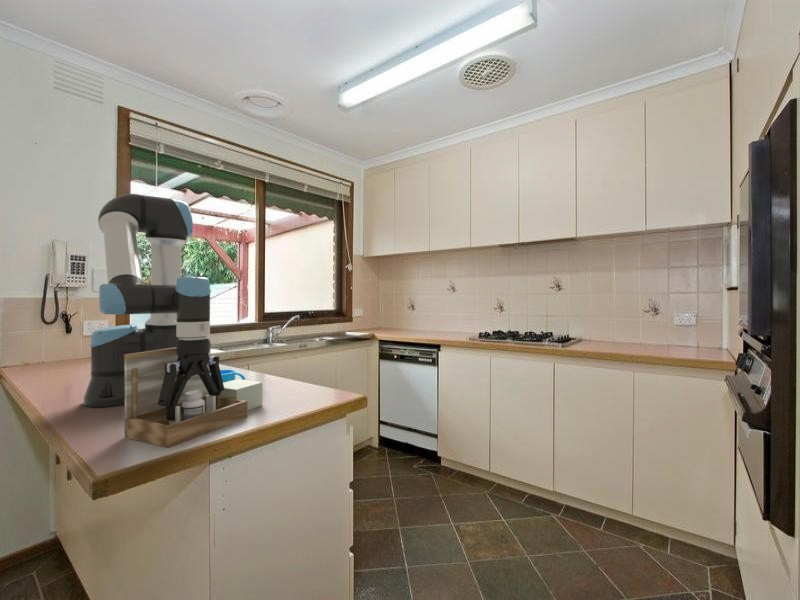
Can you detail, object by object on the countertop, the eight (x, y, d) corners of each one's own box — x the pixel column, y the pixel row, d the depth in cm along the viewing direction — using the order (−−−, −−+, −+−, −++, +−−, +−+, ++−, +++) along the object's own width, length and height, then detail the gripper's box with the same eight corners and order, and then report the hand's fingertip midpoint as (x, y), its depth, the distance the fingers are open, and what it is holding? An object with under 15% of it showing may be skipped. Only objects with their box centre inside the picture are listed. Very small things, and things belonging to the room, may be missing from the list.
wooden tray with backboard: (124, 437, 91) (124, 354, 90) (207, 410, 112) (207, 343, 112) (168, 447, 85) (167, 359, 84) (247, 417, 106) (247, 346, 106)
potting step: (210, 410, 112) (210, 386, 112) (237, 401, 121) (237, 379, 121) (236, 414, 108) (236, 389, 108) (262, 405, 117) (262, 382, 117)
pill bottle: (187, 423, 100) (187, 389, 100) (208, 423, 101) (208, 389, 101) (177, 431, 95) (177, 395, 95) (199, 430, 95) (199, 394, 95)
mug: (213, 402, 120) (213, 375, 120) (204, 396, 126) (204, 372, 126) (250, 395, 129) (250, 370, 129) (240, 390, 135) (240, 367, 135)
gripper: (161, 344, 86) (161, 444, 86) (239, 334, 106) (238, 415, 107) (139, 342, 89) (139, 438, 89) (219, 333, 109) (219, 412, 110)
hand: (193, 426), depth 98 cm, fingers open, 10 cm apart
